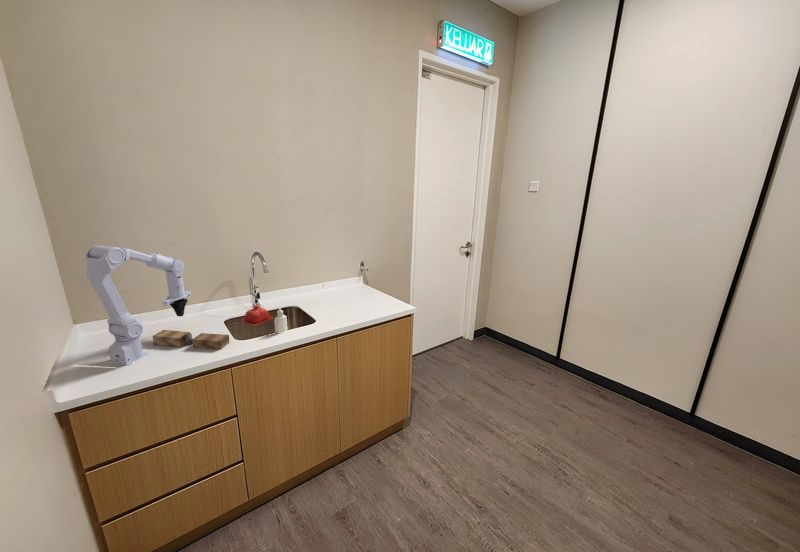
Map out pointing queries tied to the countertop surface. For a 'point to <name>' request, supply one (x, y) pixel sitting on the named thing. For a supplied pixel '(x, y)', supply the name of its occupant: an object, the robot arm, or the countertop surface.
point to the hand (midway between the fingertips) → (180, 315)
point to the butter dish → (256, 316)
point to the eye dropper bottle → (280, 322)
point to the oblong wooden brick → (210, 341)
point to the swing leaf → (172, 338)
